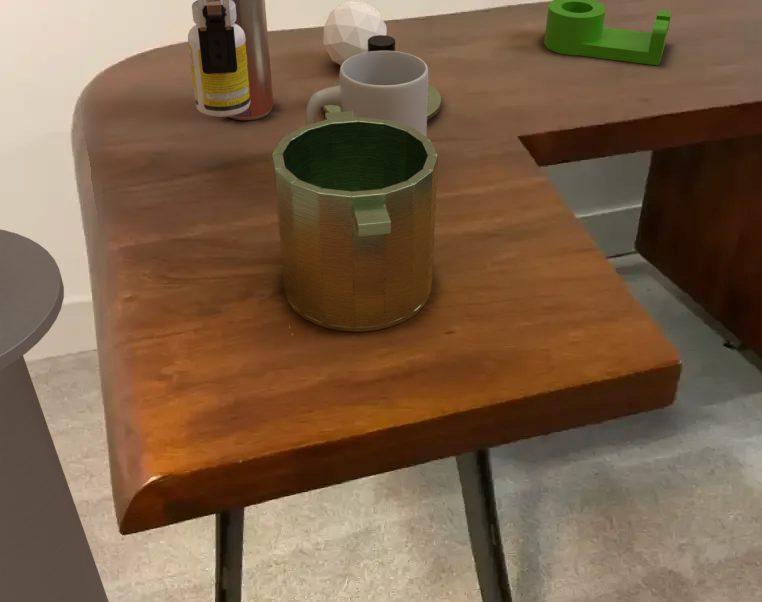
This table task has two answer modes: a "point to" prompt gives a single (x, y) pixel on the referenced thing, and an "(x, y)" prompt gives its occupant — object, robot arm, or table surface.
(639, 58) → the tape dispenser
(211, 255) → the table surface
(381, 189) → the pot
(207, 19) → the robot arm
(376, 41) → the lid
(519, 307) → the table surface
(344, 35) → the geometric ball
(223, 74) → the supplement bottle
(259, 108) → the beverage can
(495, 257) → the table surface
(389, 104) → the mug
